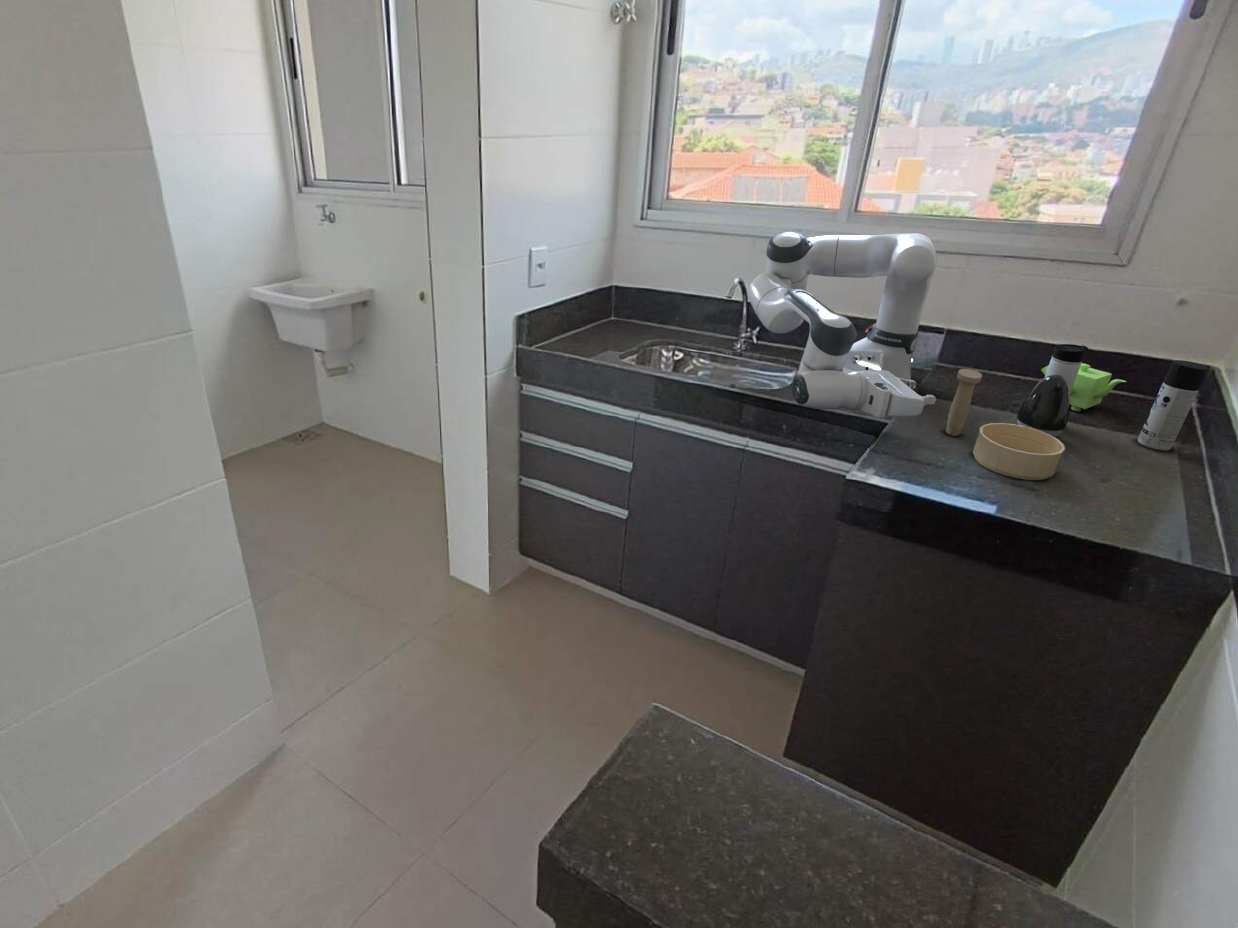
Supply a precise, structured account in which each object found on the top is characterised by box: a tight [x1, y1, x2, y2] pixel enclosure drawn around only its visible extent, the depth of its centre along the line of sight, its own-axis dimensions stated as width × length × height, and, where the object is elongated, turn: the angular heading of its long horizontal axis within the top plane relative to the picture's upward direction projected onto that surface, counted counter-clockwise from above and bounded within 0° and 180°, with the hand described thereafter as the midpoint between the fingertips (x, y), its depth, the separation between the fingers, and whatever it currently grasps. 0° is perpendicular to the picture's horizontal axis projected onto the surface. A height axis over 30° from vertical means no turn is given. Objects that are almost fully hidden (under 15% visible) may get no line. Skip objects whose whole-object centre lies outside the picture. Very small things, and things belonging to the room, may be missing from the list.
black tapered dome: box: [1016, 375, 1071, 438], centre depth 158 cm, size 10×10×15 cm
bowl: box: [972, 422, 1066, 481], centre depth 145 cm, size 16×16×6 cm
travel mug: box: [1044, 343, 1089, 393], centre depth 164 cm, size 6×7×20 cm
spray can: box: [1137, 359, 1209, 452], centre depth 155 cm, size 7×7×20 cm
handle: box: [945, 368, 983, 437], centre depth 156 cm, size 5×6×15 cm
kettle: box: [1040, 362, 1127, 412], centre depth 179 cm, size 15×14×11 cm
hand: (924, 392), depth 154 cm, fingers open, 8 cm apart
